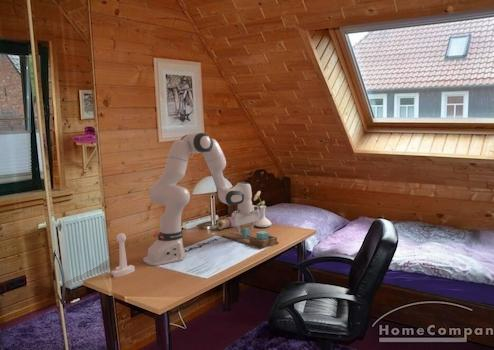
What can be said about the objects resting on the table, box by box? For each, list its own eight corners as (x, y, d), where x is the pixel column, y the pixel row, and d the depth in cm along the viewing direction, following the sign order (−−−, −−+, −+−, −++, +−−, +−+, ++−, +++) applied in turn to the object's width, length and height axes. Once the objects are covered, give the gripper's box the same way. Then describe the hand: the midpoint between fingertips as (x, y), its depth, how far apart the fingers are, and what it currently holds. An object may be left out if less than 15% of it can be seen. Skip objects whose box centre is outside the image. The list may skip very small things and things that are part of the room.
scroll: (225, 229, 271) (245, 223, 286) (221, 218, 272) (241, 213, 287) (217, 232, 276) (238, 226, 291) (214, 222, 277) (234, 216, 292)
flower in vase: (263, 223, 290) (262, 187, 287) (275, 226, 282) (274, 189, 278) (249, 227, 281) (248, 190, 278) (261, 230, 273) (260, 192, 270)
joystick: (116, 277, 196) (112, 236, 194) (107, 274, 201) (104, 234, 199) (136, 271, 204) (133, 231, 202) (127, 267, 209) (125, 229, 207)
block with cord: (262, 244, 239) (262, 234, 238) (240, 237, 253) (240, 228, 252) (268, 242, 242) (268, 232, 241) (247, 236, 256) (246, 226, 255)
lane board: (261, 249, 233) (260, 242, 233) (221, 236, 260) (221, 230, 260) (278, 243, 242) (278, 237, 242) (238, 232, 269) (238, 226, 269)
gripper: (235, 212, 242) (236, 235, 244) (260, 206, 255) (261, 228, 257) (228, 210, 247) (229, 233, 249) (253, 204, 260) (254, 226, 262)
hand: (245, 230), depth 253 cm, fingers open, 8 cm apart
